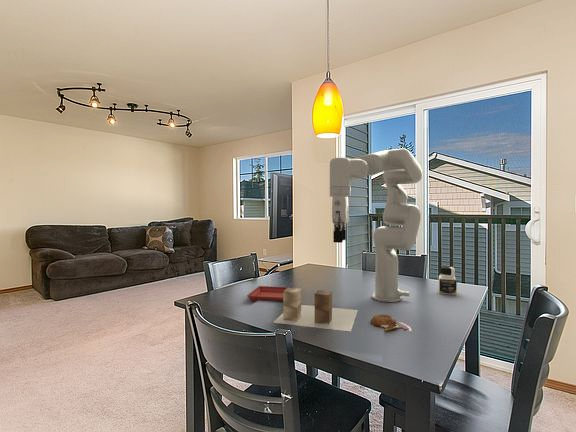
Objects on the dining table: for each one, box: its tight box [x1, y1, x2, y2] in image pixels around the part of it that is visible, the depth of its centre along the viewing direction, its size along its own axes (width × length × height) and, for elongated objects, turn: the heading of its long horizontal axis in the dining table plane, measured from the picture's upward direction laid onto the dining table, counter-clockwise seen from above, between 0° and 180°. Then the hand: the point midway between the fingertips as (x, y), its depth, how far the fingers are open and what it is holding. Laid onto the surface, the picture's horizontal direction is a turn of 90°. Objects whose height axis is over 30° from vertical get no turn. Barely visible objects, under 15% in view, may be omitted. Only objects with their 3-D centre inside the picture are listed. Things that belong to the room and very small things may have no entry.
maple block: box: [282, 287, 302, 321], centre depth 115 cm, size 5×5×10 cm
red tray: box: [247, 285, 291, 303], centre depth 145 cm, size 18×18×3 cm
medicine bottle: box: [438, 265, 458, 296], centre depth 153 cm, size 7×7×12 cm
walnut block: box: [314, 289, 333, 325], centre depth 111 cm, size 5×5×10 cm
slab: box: [272, 304, 359, 332], centre depth 117 cm, size 26×22×1 cm
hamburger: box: [369, 313, 412, 332], centre depth 109 cm, size 14×14×6 cm
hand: (339, 240), depth 119 cm, fingers open, 7 cm apart
